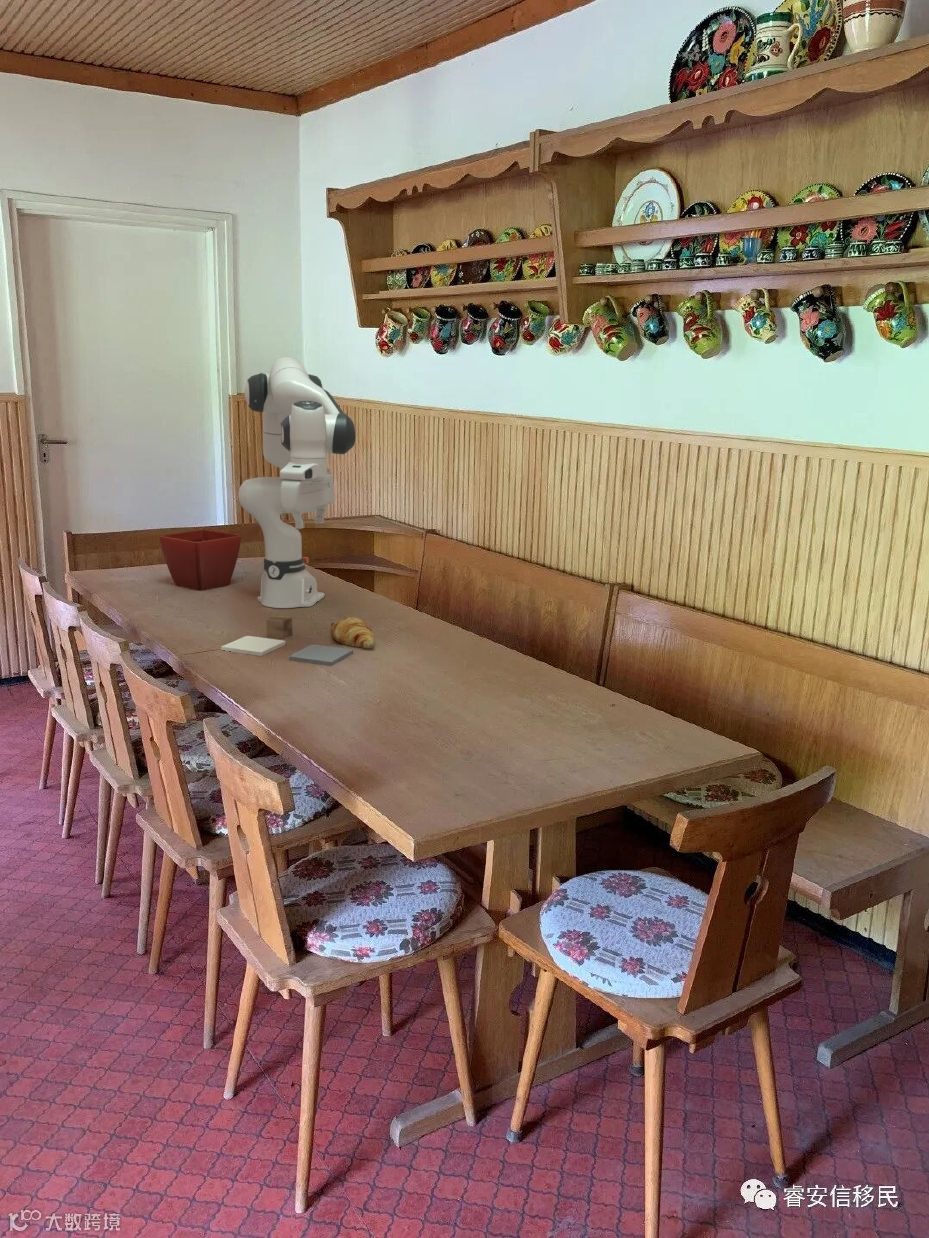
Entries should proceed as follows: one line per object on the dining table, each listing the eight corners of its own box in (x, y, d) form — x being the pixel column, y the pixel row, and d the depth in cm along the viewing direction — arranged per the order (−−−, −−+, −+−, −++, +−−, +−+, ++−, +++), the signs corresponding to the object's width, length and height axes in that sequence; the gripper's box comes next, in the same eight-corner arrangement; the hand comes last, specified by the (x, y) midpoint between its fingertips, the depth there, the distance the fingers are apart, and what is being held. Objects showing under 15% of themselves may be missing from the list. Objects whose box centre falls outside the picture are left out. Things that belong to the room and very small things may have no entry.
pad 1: (246, 639, 272) (246, 635, 272) (285, 644, 268) (285, 640, 267) (221, 650, 261) (221, 646, 261) (261, 656, 257) (261, 652, 257)
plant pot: (206, 577, 347) (204, 528, 342) (244, 585, 336) (242, 535, 332) (160, 586, 332) (157, 535, 327) (198, 594, 321) (196, 542, 317)
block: (276, 632, 279) (276, 615, 278) (292, 634, 278) (292, 617, 276) (267, 637, 275) (266, 619, 273) (283, 639, 273) (282, 621, 272)
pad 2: (312, 648, 265) (312, 644, 265) (353, 653, 261) (353, 649, 261) (289, 659, 254) (288, 656, 254) (331, 665, 250) (331, 662, 250)
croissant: (381, 661, 267) (393, 634, 267) (352, 649, 260) (365, 621, 261) (341, 641, 283) (353, 615, 283) (313, 629, 277) (325, 603, 277)
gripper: (318, 465, 256) (319, 519, 259) (275, 472, 237) (277, 530, 241) (340, 466, 254) (341, 521, 257) (299, 473, 235) (300, 532, 238)
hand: (309, 525), depth 249 cm, fingers open, 8 cm apart
